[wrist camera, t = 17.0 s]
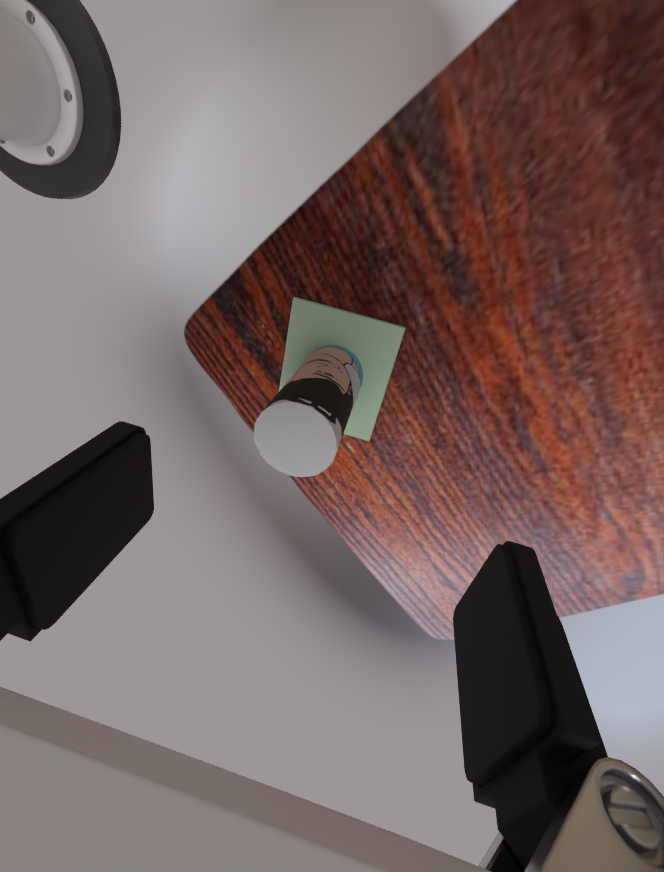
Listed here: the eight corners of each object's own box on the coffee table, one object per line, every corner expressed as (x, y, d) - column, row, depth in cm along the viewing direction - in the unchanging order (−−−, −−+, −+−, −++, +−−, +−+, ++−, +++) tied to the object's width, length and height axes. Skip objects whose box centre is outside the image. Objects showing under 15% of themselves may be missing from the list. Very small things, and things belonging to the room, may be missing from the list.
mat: (276, 411, 46) (275, 413, 46) (294, 296, 39) (292, 297, 39) (369, 439, 46) (369, 441, 45) (405, 326, 38) (405, 328, 38)
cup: (368, 351, 40) (342, 412, 27) (358, 407, 43) (331, 485, 30) (306, 339, 40) (254, 393, 28) (302, 396, 44) (253, 467, 31)
